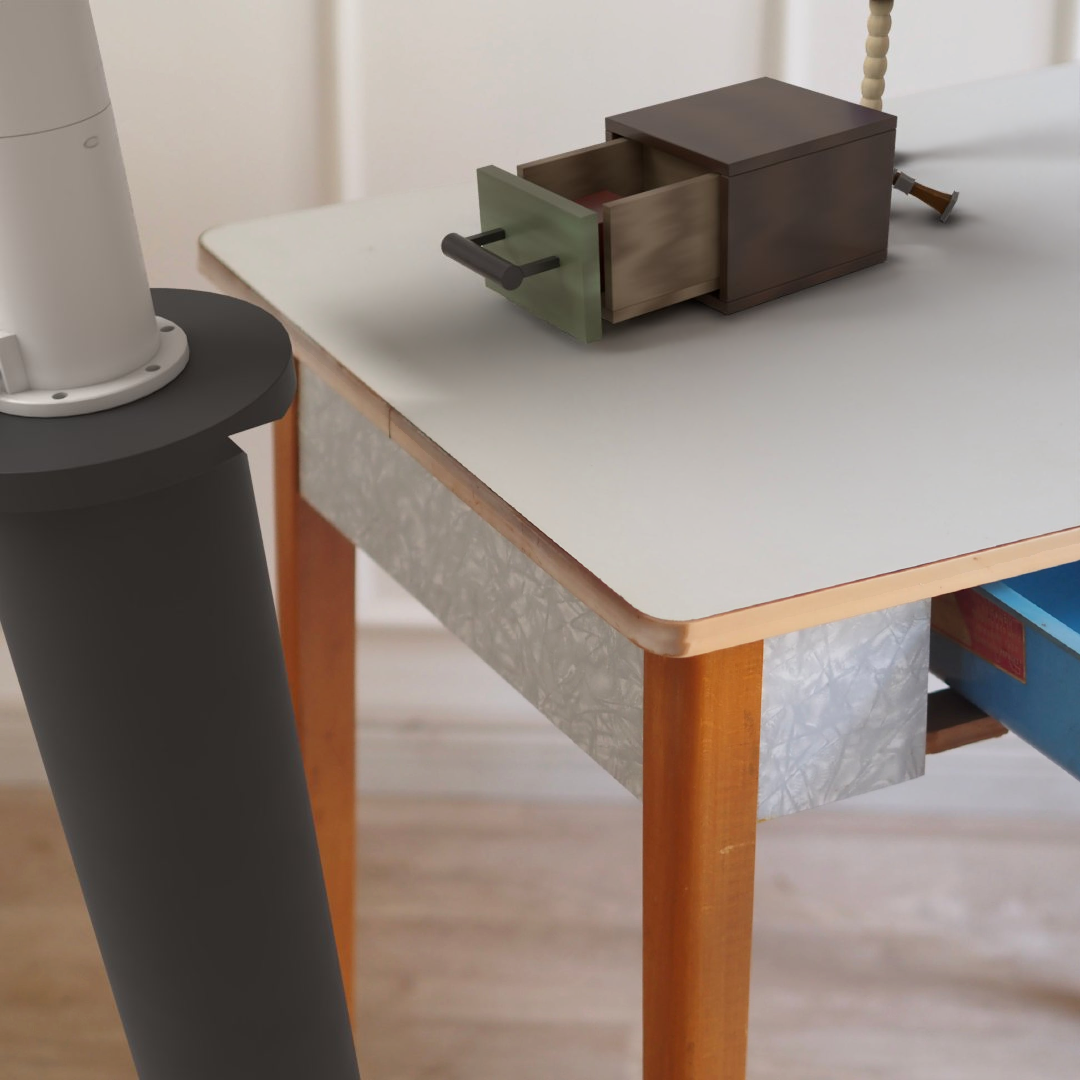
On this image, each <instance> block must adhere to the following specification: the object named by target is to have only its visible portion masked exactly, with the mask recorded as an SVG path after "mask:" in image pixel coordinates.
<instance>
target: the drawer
mask: <svg viewBox="0 0 1080 1080" xmlns="http://www.w3.org/2000/svg"><path fill="white" fill-rule="evenodd" d="M721 175H722V174H720V173H717V172H715V171H712V170H709V169H707V168H704V167H702V166H699V165H697V164H694V163H691V162H689V161H686V160H684V159H681V158H678V157H676V156H673V155H671V154H668V153H665V152H663V151H660V150H658V149H655V148H652V147H650V146H647V145H645V144H642V143H639V142H637V141H634V140H632V139H629V138H627V137H622V138H619V139H615V140H611V141H607V142H606V141H604V142H600V143H597V144H593V145H589V146H585V147H581V148H577V149H574V150H569V151H566V152H562V153H558V154H555V155H551V156H547V157H543V158H540V159H536V160H531V161H528V162H524V163H521V164H518V165H516V174H514V173H511V172H509V171H507V170H504V169H502V168H501V167H499V166H495V164H490V165H485V166H482V167H477V168H476V182H477V195H478V206H479V207H478V208H479V219H480V220H479V221H480V232H479V233H476V234H473V235H472V234H471V235H468V236H462V235H461V234H459V233H457V232H450V233H448V234H446V235H444V237H443V239H442V241H441V243H440V249H441V252H442V254H443V255H444V256H445V257H448V258H449V259H451V260H452V261H454V262H456V263H458V264H460V265H462V267H465V268H467V269H468V270H471V271H472V272H474V273H475V274H478V275H479V276H481V277H483V278H484V283H485V287H486V288H488V289H490V290H492V291H493V292H495V293H496V294H499V295H500V296H502V297H504V298H506V299H507V300H509V301H511V302H513V303H514V304H516V305H518V306H519V307H521V308H523V309H525V310H527V311H528V312H530V313H531V314H533V315H535V316H537V317H539V318H541V319H542V320H543V321H546V322H548V323H549V324H551V325H553V326H554V327H556V328H558V329H559V330H561V331H563V332H564V333H567V334H568V335H569V336H572V337H573V338H576V339H577V340H579V341H580V342H582V343H584V344H589V343H593V342H596V341H598V340H602V339H603V325H602V324H603V323H602V320H605V321H607V322H609V323H611V324H613V325H614V324H618V323H621V322H624V321H626V320H630V319H633V318H636V317H639V316H642V315H645V314H648V313H651V312H654V311H657V310H660V309H663V308H665V307H669V306H672V305H675V304H678V303H681V302H684V301H687V300H690V299H694V298H693V297H696V296H699V295H702V294H705V293H708V292H711V291H714V290H717V289H720V217H721ZM605 190H607V191H609V192H612V193H614V194H616V195H619V196H621V197H623V198H622V199H619V200H615V201H612V202H608V203H605V204H603V205H602V210H603V240H604V270H605V292H602V293H600V264H599V236H598V213H597V212H594V211H592V210H590V209H588V208H586V207H583V206H581V205H579V204H577V203H575V202H573V201H570V200H573V199H577V198H581V197H584V196H588V195H591V194H595V193H598V192H602V191H605Z"/></svg>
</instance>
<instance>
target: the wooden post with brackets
mask: <svg viewBox="0 0 1080 1080" xmlns="http://www.w3.org/2000/svg"><path fill="white" fill-rule="evenodd" d="M892 189H896V190H898V191H899V192H901V193H903V194H905V195H906V196H909V195H910V196H913V197H915V198H916V199H918V200H920V201H921V202H923V203H924V204H926V205H927V206H929V207H930V208H932V209H934V210H935V211H936V212H937V213H938V214H940V218H939V220H940V221H942V222H943V223H945V222H946V221H947V219H948V217H949V215H950V214H951V212H952V211H953V209H954V208H955V205H957V202H958V200H959V195H960V191H956V190H953V192H952V193H951V194H950V193H947V192H943V191H940V190H937V189H935V188H931V187H929V186H926V185H924V184H921V183H919V182H917V181H916V178H914V177H911V176H909V175H908V174H906V173H904V171H900V172H899V169H898V168H896V167H895V166H894V169H893V183H892Z"/></svg>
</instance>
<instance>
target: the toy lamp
mask: <svg viewBox="0 0 1080 1080" xmlns="http://www.w3.org/2000/svg"><path fill="white" fill-rule="evenodd" d="M868 1H869V2H868V8H869V11H870V14H869V16H868V18H867V24H866V27H867V32H868V35H867V37H866V39H865V45H864V46H865V53H866V56H865V58H864V60H863V64H862V71H863V75H864V76H863V78H862V80H861V84H860V92H861V95H862V97H861V99H860V100H859V104H858V105H862V106H865V107H868V108H872V109H875V110H878V111H882V112H883V99H882V97H883V95H884V92H885V90H886V81H885V75H886V72H887V71H888V59H887V54H888V52H889V48H890V36H889V34H890V31H891V29H892V24H893V22H892V16H891V13H892V11H893V8H894V4H895V0H868Z"/></svg>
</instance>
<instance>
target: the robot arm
mask: <svg viewBox="0 0 1080 1080" xmlns="http://www.w3.org/2000/svg"><path fill="white" fill-rule="evenodd" d="M116 124H117V123H116V119H115V113H114V109H113V105H112V100H111V97H110V93H109V88H108V82H107V79H106V74H105V68H104V63H103V59H102V54H101V50H100V45H99V41H98V37H97V32H96V26H95V23H94V19H93V13H92V9H91V5H90V0H0V412H3V413H6V414H9V415H16V416H22V417H34V418H55V417H69V416H77V415H84V414H90V413H95V412H99V411H104V410H108V409H112V408H115V407H118V406H122V405H125V404H128V403H131V402H133V401H136V400H138V399H141V398H143V397H146V396H148V395H150V394H152V393H153V392H155V391H157V390H159V389H161V388H163V387H164V386H165V385H167V384H168V383H170V382H171V381H172V380H174V379H175V378H176V377H177V376H178V375H179V374H180V373H181V372H182V371H183V369H184V368H185V366H186V364H187V362H188V360H189V353H190V351H189V346H188V342H187V337H186V334H185V333H184V331H183V330H182V329H181V328H180V327H179V326H177V325H176V324H175V323H173V322H171V321H169V320H167V319H164V318H162V317H159V316H155V312H154V307H153V302H152V297H151V292H150V288H151V287H150V283H149V278H148V273H147V269H146V264H145V260H144V254H143V249H142V245H141V240H140V235H139V230H138V225H137V220H136V217H135V216H136V215H135V211H134V206H133V201H132V197H131V191H130V187H129V182H128V178H127V177H128V176H127V173H126V168H125V167H126V166H125V163H124V158H123V153H122V147H121V142H120V139H119V134H118V129H117V125H116Z"/></svg>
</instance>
